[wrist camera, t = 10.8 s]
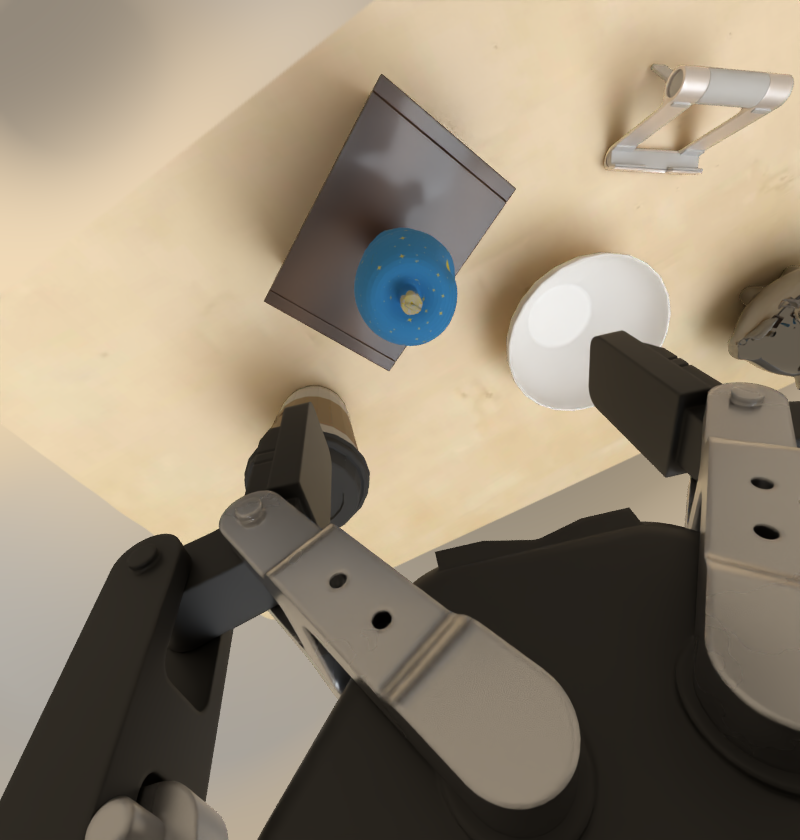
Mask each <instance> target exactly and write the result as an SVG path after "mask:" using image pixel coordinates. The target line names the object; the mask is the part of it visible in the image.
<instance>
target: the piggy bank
mask: <svg viewBox="0 0 800 840" xmlns="http://www.w3.org/2000/svg"><path fill="white" fill-rule="evenodd" d="M739 299H740V301H741V302H742V303H744V304H745V305H746V307H745V308H744V310H743V311H742V313H741V315H740V317H739V318H738V321H737V323H736V326H735V328H734V333H733V335H732V336H731V338H730V339H729V341H728V351H729V353H730V355H731V356H732V357H734V358H735V359H740V360H746V361H747V362H749V363H750V364H752V365H754V366H756V367H758V368H760V369H762V370H764V371H767V372H770V373H774V374H778V375H785V376H792V377H794V378H795V383H796V387H797V388H798V389H799V390H800V267H799V266H790V267H788V268H786V269H785V270H784V271H783V272H782V274H781V277H780V278H778V279H777V280H775V281H773V282H772V283H770V284H769V285H767V286H764V287H759V286H750V287H746V288H744V289H743V290H742V292H741V294H740V296H739Z"/></svg>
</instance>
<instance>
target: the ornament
mask: <svg viewBox="0 0 800 840" xmlns="http://www.w3.org/2000/svg"><path fill="white" fill-rule="evenodd" d="M354 294H355V301H356V304H357V307H358V310H359V312H360V315H361V316H362V318H363V320H364V321H365V323H366V324H367V326H368V327H369V328H370V329H371V330H372V331H373V332H374V333H375V334H377V335H378V336H379V337H381V338H383V339H385V340H387V341H389V342H391V343H395V344H398V345H404V346H416V345H421V344H424V343H427V342H429V341H431V340H433V339H435V338H436V337H437V336H439V335H440V334H441V333H442V332H443V331H444V330H445V329H446V327H447V326H448V324H449V323H450V321H451V319H452V317H453V314H454V311H455V308H456V303H457V285H456V282H455V268H454V263H453V259H452V257H451V254H450V253H449V251H448V250H447V249H446V248H445V247H444V246H443V245H442V244H441V243H440V242H439V241H438V240H436V239H435V238H434V237H433V236H431V235H429V234H427V233H424V232H422V231H418V230H414V229H410V228H395V229H390V230H385V231H383V232H381V233H380V234H379V235H377V236H376V238H375V239H374V240H373V241H372V242H371V243H370V244H369V246H368V247H367V249H366V250H365V252H364V254H363V256H362V259H361V261H360V263H359V266H358V269H357V272H356V276H355V283H354Z"/></svg>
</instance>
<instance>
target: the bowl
mask: <svg viewBox="0 0 800 840" xmlns="http://www.w3.org/2000/svg"><path fill="white" fill-rule="evenodd" d="M670 314H671V313H670V302H669V294H668V291H667V289H666V287H665V285H664V282H663V280H662V278H661V276H660V275H659V274H658V273H657V272H656V271H655V270H654V269H653V268H652V267H651V266H650V265H649V264H648V263H646V262H644V261H642V260H639V259H637V258H635V257H633V256H631V255H627V254H618V253H607V252H599V253H594V254H589V255H583V256H579V257H576V258H573V259H571V260H569V261H567V262H565V263H562V264H560V265H558V266H556V267H554V268H553V269H551V270H550V271H549V272H547V273H546V274H545V275H544V276H542V277H541V278H540V279H538V280H537V281H536V282H535V283H534V284H533V286H532V287H531V288H530V289H529V290H528V292H527V293H526V294H525V295H524V296H523V298H522V299H521V300H520V302H519V304H518V306H517V308H516V310H515V312H514V314H513V316H512V318H511V322H510V326H509V330H508V334H507V341H506V344H507V362H508V365H509V368H510V371H511V374H512V377H513V379H514V382H515V383H516V384H517V386H518V387H519V388H520V390H521V391H522V392H523V394H524V395H525V396H527V397H528V398H529V399H531V400H532V401H534V402H535V403H537V404H538V405H541V406H544V407H547V408H550V409H554V410H567V411H575V410H580V409H585V408H590V407H594V404H593V402H592V400H591V398H590V394H589V387H588V385H589V360H590V344H591V340H592V338H593V337H595V336H599V335H603V334H607V333H612V332H616V331H620V330H623V331H625V332H627V333H628V334H630V335H632V336H633V337H635V338H636V339H638V340H639V341H641V342H643V343H648V344H651V345H655V346H658V347H662V344H663V342H664V340H665V337H666V335H667V331H668V325H669V320H670Z"/></svg>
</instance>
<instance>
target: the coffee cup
mask: <svg viewBox="0 0 800 840" xmlns="http://www.w3.org/2000/svg"><path fill="white" fill-rule="evenodd" d="M307 402H311V403H312V404H313V406H314V409H315V411H316V414H317V417H318V420H319V422H320V425H321V428H322V431H323V434H324V437H325V439H326V442H327V445H328V448H329V452H330V457H331V463H332V477H331V513H330V523H332V524H334V525H336V526H338V527H341V526H343V525H345V523H346V522H347V521H348V520H349V519H350V518H351V517H352V516H353V515H354V514H355V513H356V512H357V511H358V510H359V509H360V508H361V507H362V505H363V503H364V500H365V498H366V496H367V494H368V488H369V476H370V472H369V469H368V466H367V464H366V461H365V458H364V457H363V456H362V454H361V453H360V452H359V451H358V448H357V444H356V441H355V437H354V433H353V430H352V426H351V422H350V419H349V415H348V412H347V409H346V406H345V404H344V403H343V401H342V400H341V399H340V397H339V396H338V395H337V394H336V393H334V392H333V391H331V390H330V389H327V388H324V387H320V386H308V387H304V388H301V389H299V390H297V391H296V392H294V393H293V394H292V395H290V396H289V397H288V399H287V400H286V401H285V403H284V404H283V406H282V408H281V410H280V412H279V414H278V416H277V418H276V419H275V421H274V423H273V425H272V427H271V428H275V427H279V426H280V424H281V420H282V415H283V411H284V408H285V407H289V406H294V405H298V404H302V403H307ZM257 449H258V448H257ZM257 449H256V450H255V452H254V453H253V454H252V455H251V457H250V458H249V460H248V463H247V467H246V470H245V480H244V481H245V488H246V489H247V485H248V481H249V478H250V474H251V471H252V467H253V465H254V460H255V456H256V455H257Z"/></svg>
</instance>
